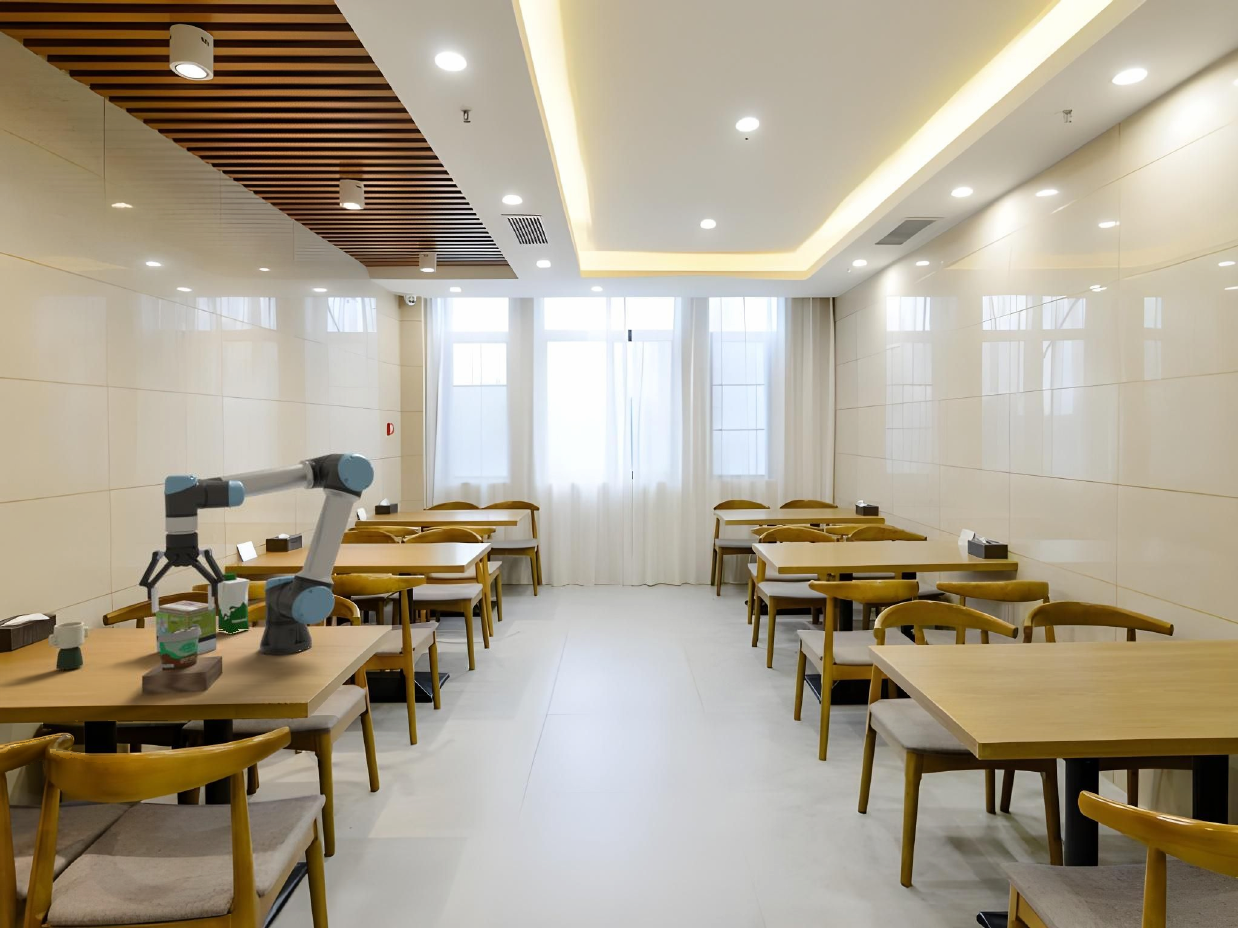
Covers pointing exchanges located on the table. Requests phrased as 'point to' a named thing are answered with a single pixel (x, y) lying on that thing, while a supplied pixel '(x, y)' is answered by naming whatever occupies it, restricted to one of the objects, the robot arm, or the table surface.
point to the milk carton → (233, 603)
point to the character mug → (69, 643)
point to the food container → (179, 648)
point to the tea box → (188, 622)
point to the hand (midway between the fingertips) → (183, 610)
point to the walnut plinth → (182, 677)
